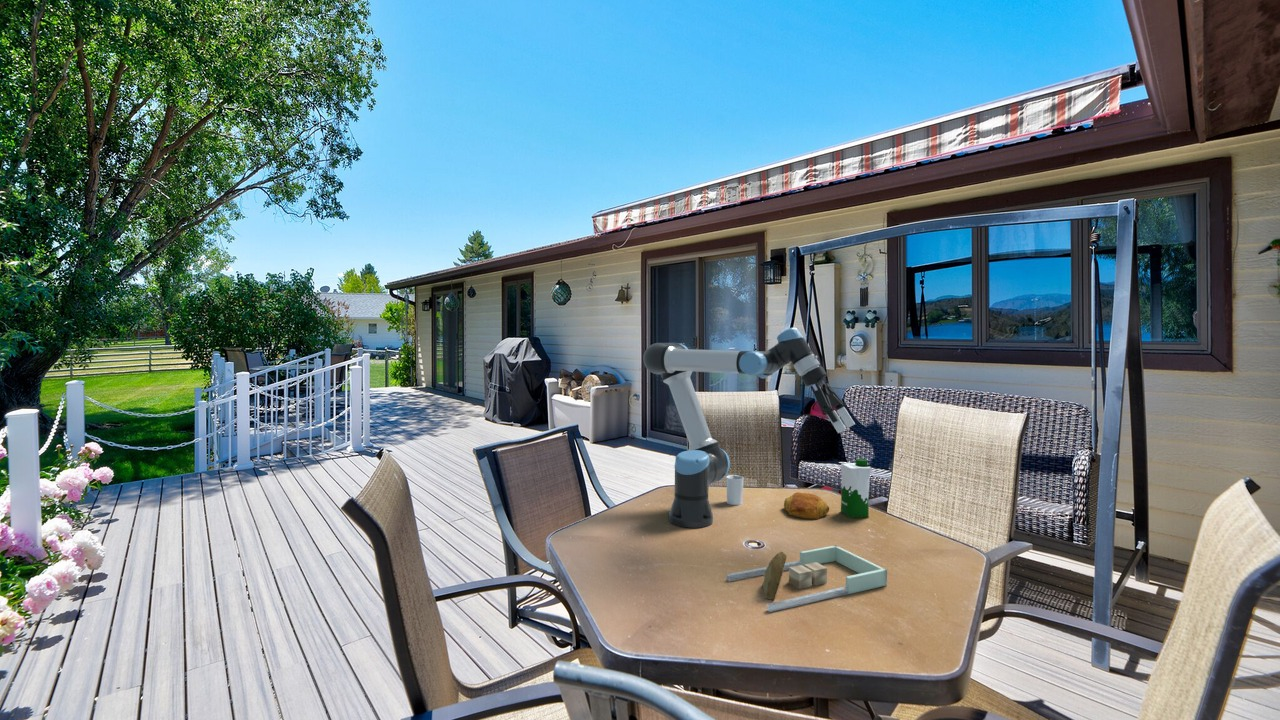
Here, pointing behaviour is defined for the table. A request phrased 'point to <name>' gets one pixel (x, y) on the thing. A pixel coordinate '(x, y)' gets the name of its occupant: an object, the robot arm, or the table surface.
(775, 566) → the rock
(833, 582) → the table surface
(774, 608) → the slot rails
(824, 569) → the beige cube
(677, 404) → the robot arm
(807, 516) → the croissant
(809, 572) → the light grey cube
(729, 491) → the drinking glass
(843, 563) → the tray pen
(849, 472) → the milk carton
